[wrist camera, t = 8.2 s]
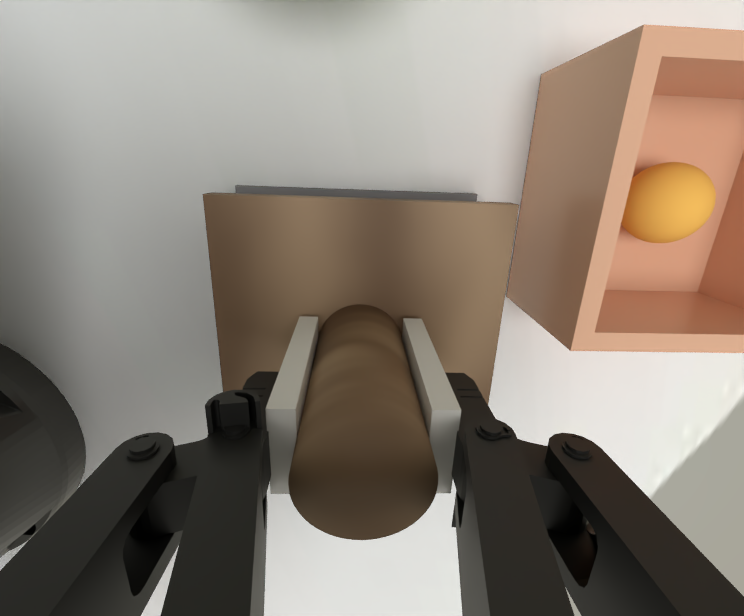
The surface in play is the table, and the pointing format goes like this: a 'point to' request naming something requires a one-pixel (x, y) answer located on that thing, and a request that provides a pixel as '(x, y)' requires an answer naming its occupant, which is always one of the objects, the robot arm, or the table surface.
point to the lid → (358, 332)
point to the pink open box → (611, 187)
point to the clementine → (668, 202)
